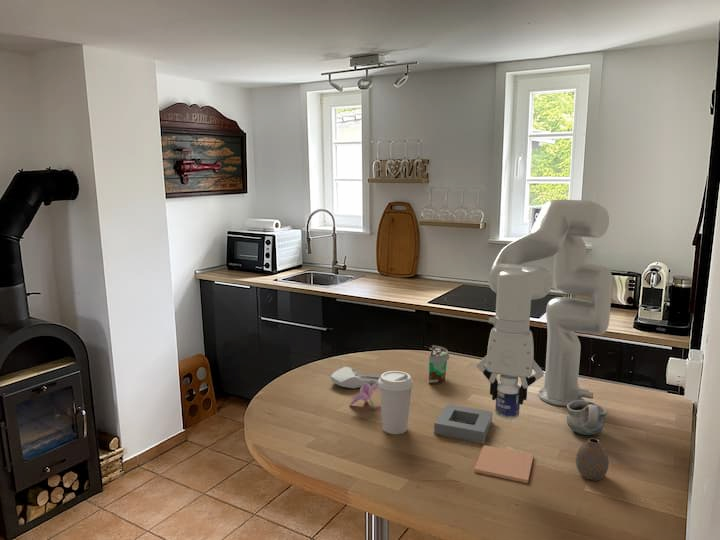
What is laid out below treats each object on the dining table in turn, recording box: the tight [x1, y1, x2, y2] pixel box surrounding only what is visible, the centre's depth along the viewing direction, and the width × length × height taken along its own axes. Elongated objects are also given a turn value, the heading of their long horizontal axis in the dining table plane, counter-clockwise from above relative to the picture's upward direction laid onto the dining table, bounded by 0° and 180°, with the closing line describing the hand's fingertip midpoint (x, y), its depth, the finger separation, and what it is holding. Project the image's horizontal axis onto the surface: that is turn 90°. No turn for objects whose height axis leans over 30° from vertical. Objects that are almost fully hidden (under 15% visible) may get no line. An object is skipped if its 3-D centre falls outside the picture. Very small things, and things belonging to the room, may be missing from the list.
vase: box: [575, 437, 610, 481], centre depth 124 cm, size 7×7×9 cm
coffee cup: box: [377, 370, 415, 435], centre depth 146 cm, size 10×10×15 cm
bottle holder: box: [433, 403, 493, 444], centre depth 148 cm, size 13×13×3 cm
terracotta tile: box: [473, 444, 534, 484], centre depth 130 cm, size 12×12×1 cm
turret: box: [330, 366, 382, 389], centre depth 179 cm, size 10×20×5 cm, turn 104°
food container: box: [428, 344, 450, 386], centre depth 181 cm, size 12×6×10 cm, turn 168°
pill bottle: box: [494, 374, 521, 421], centre depth 126 cm, size 5×5×10 cm
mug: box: [566, 399, 607, 436], centre depth 144 cm, size 10×12×10 cm
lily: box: [349, 382, 380, 412], centre depth 160 cm, size 11×11×9 cm
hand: (507, 399), depth 127 cm, fingers closed on pill bottle, 5 cm apart
